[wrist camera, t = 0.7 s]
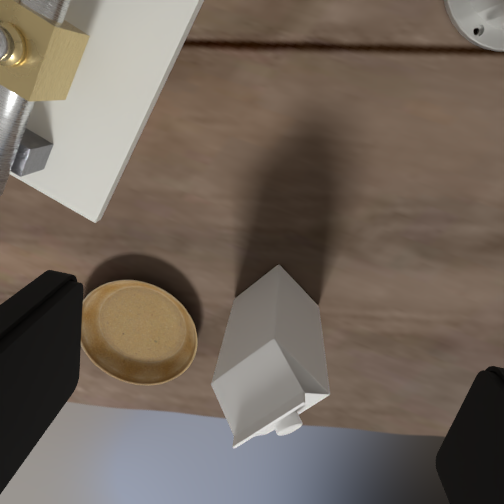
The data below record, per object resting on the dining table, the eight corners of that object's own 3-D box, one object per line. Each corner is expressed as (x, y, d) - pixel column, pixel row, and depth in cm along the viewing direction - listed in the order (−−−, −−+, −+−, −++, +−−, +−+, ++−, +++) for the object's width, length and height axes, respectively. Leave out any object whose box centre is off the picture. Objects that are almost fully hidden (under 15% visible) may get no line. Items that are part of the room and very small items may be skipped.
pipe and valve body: (91, -125, 33) (23, -198, 25) (152, -83, 34) (106, -140, 25) (-5, 161, 43) (-76, 178, 34) (44, 189, 43) (-14, 212, 35)
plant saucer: (225, 319, 49) (222, 330, 47) (160, 391, 54) (154, 405, 52) (123, 246, 47) (114, 255, 45) (65, 329, 52) (55, 341, 50)
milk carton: (233, 298, 48) (200, 419, 30) (279, 262, 46) (271, 370, 28) (273, 338, 50) (263, 475, 32) (319, 305, 47) (336, 433, 30)
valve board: (34, -170, 33) (22, -181, 32) (222, -40, 36) (219, -45, 34) (-50, 132, 43) (-62, 133, 42) (101, 219, 46) (95, 223, 44)
